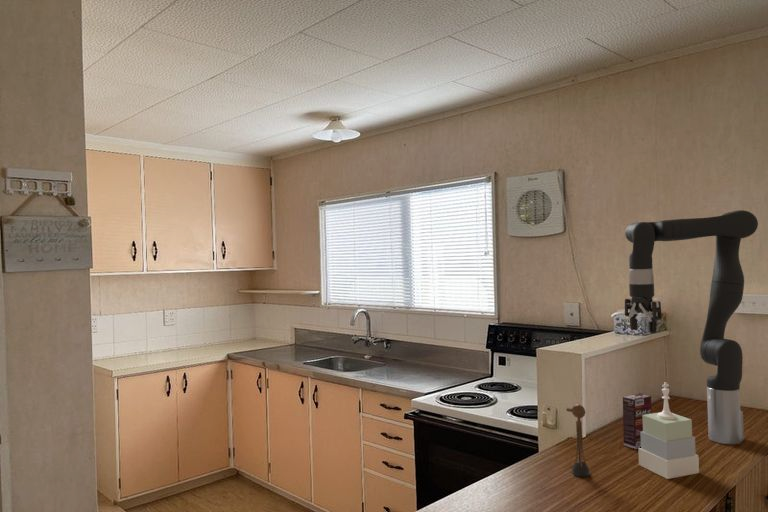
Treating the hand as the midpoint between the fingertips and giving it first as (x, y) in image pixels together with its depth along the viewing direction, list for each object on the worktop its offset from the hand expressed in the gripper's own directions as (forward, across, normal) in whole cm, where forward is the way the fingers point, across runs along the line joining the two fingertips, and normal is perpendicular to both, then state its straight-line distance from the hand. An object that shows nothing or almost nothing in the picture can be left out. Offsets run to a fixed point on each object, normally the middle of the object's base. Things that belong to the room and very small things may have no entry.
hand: (643, 331), depth 188 cm
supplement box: (+36, -3, +6) cm, 37 cm away
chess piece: (+21, -22, +12) cm, 33 cm away
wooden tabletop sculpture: (+36, -15, +37) cm, 54 cm away
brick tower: (+36, -22, +12) cm, 44 cm away
